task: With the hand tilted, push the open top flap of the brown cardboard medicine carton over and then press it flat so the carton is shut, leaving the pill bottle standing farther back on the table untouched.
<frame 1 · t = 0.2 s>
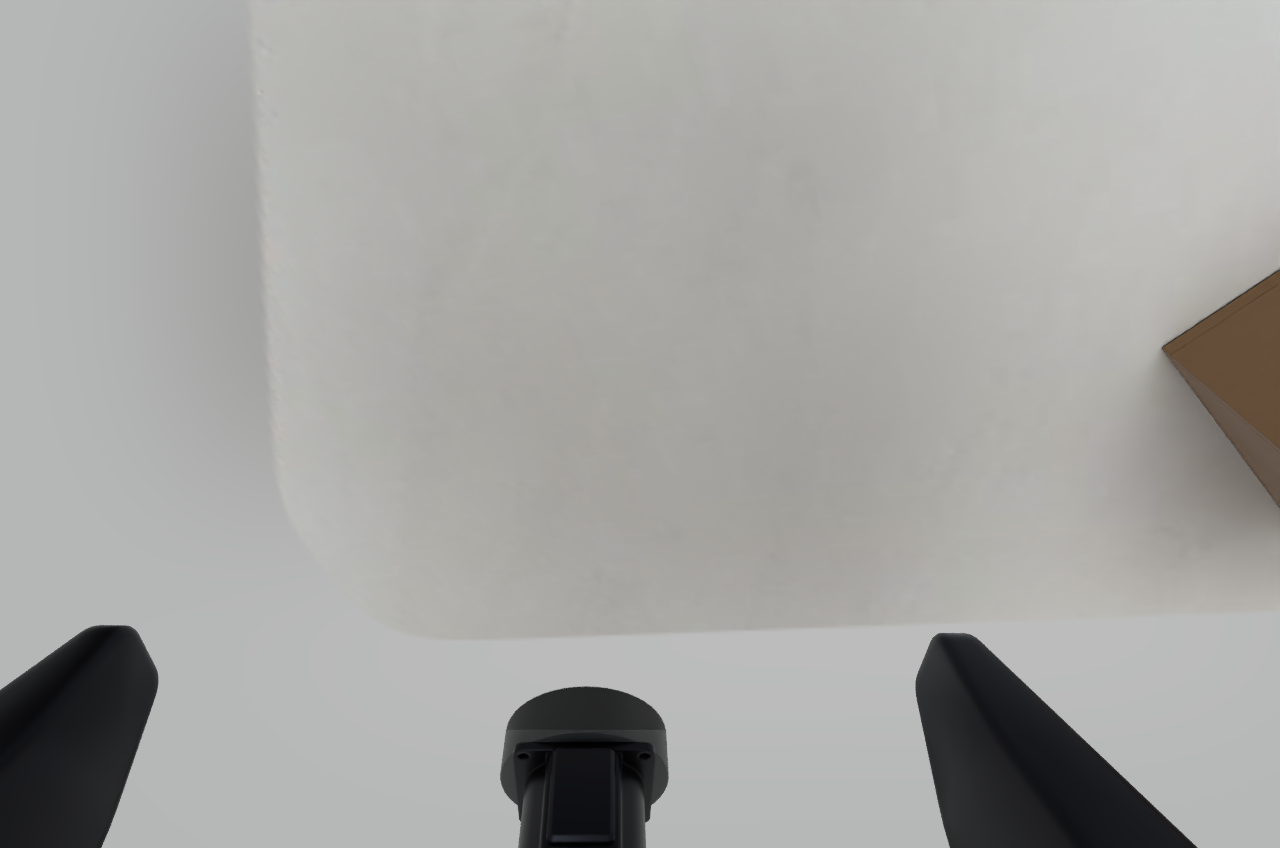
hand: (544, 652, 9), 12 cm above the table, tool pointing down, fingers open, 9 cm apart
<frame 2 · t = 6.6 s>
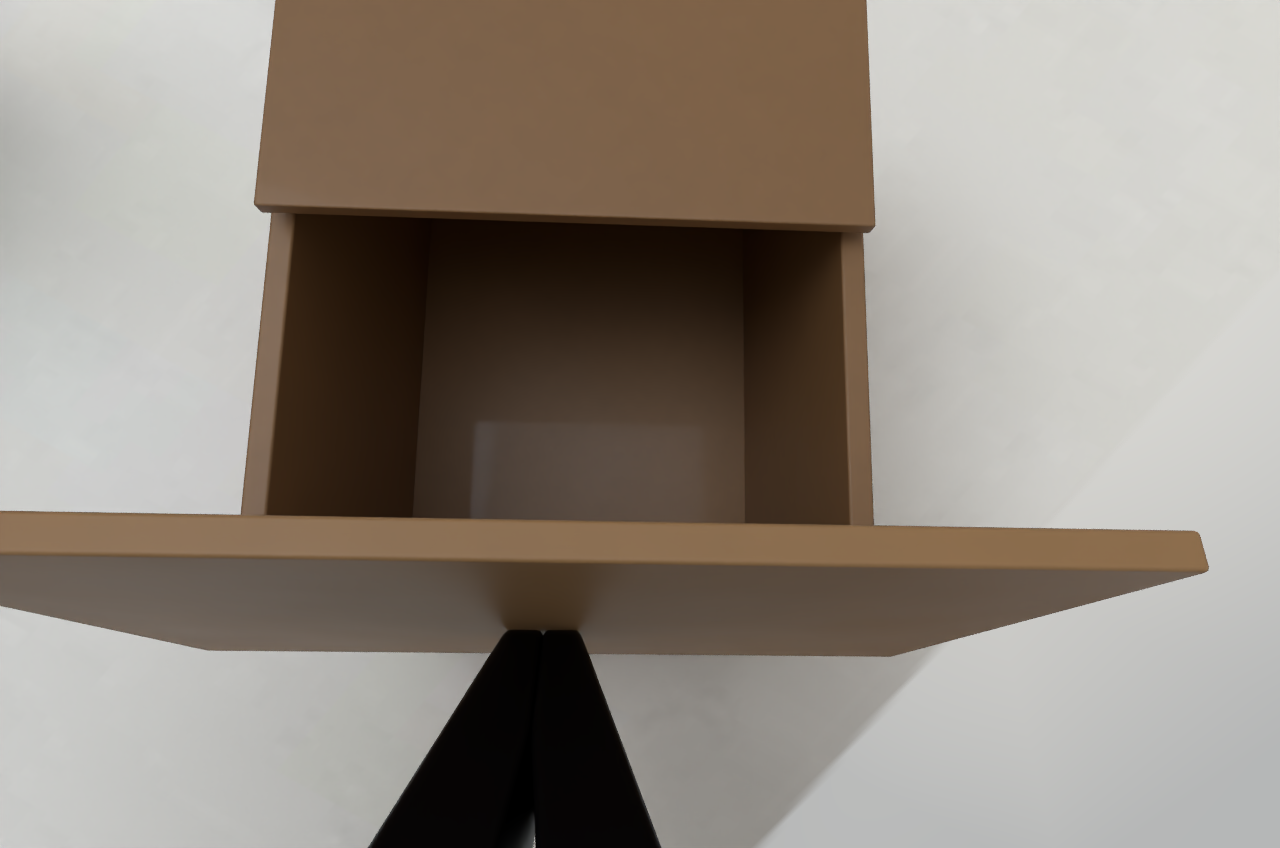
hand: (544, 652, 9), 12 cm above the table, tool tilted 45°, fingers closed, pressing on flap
carton: (584, 372, 22), on the table
flap: (541, 609, 8), point 13 cm above the table, hinge at 77.4°, touching gripper
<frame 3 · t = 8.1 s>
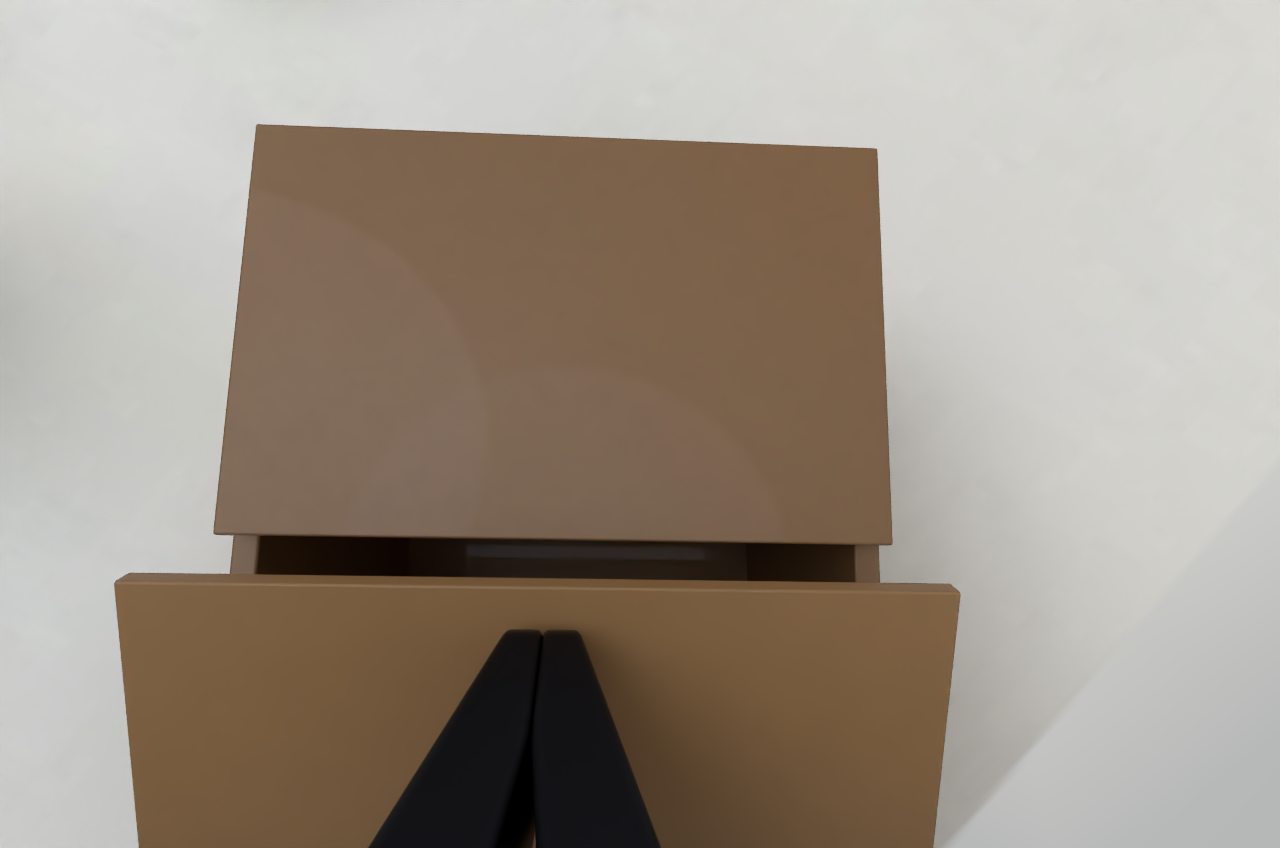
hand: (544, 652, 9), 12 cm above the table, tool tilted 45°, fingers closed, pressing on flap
carton: (580, 547, 21), on the table
flap: (546, 821, 9), point 11 cm above the table, hinge at 19.4°, touching gripper
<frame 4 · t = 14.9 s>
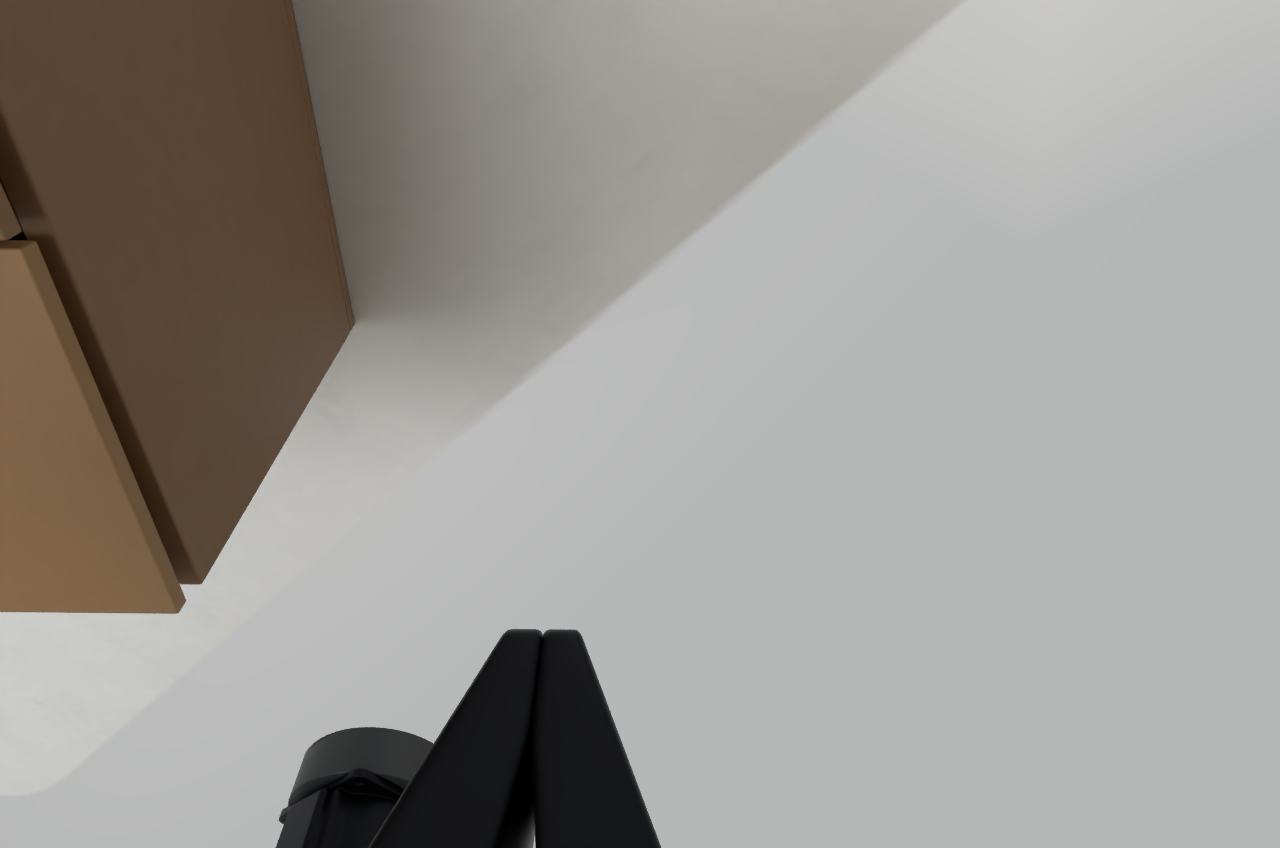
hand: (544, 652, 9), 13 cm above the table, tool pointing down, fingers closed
carton: (78, 60, 17), on the table
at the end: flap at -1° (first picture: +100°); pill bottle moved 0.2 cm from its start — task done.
